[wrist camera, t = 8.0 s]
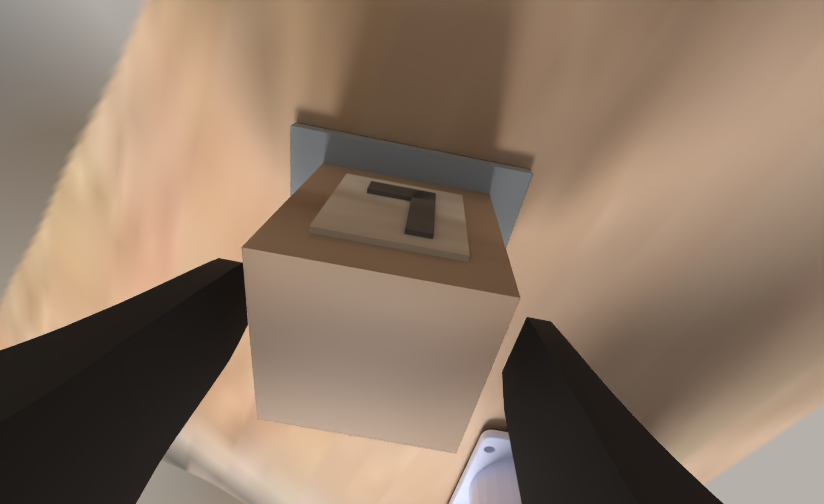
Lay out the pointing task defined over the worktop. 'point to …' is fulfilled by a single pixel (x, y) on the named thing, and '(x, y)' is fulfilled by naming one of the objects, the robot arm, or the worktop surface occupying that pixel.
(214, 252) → the worktop surface
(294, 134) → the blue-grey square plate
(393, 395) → the letter cube
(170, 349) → the robot arm
